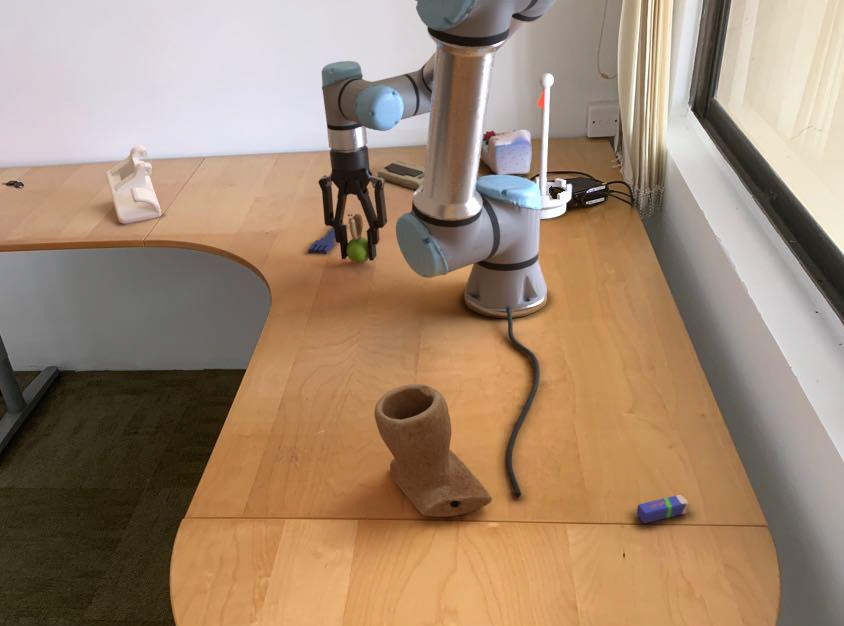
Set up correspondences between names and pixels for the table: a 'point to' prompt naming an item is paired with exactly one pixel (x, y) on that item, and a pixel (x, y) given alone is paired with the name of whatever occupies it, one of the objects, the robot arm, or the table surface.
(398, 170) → the computer
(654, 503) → the eraser
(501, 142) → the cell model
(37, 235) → the table surface
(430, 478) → the clay pipe
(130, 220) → the white angular piece
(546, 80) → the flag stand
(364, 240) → the snail figurine
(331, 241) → the fork
